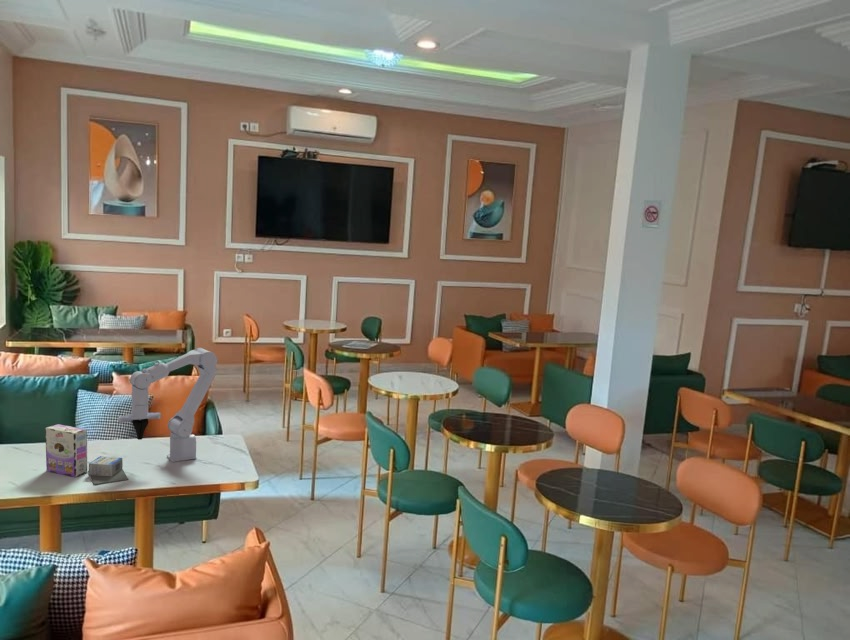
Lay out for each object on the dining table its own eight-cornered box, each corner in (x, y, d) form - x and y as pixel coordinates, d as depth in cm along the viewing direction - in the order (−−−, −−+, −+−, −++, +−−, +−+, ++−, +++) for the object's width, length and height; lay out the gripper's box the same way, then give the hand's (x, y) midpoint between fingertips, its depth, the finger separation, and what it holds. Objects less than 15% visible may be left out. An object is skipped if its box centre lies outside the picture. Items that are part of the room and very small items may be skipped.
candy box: (88, 472, 238) (87, 428, 236) (74, 478, 233) (74, 433, 230) (59, 466, 242) (58, 423, 240) (45, 471, 237) (44, 427, 235)
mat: (120, 467, 245) (120, 466, 245) (128, 479, 234) (128, 478, 234) (88, 471, 239) (88, 470, 239) (94, 485, 227) (94, 484, 227)
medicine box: (112, 465, 234) (88, 463, 234) (112, 476, 235) (88, 475, 235) (122, 457, 242) (99, 455, 242) (122, 469, 242) (99, 467, 242)
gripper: (158, 399, 252) (157, 433, 254) (116, 402, 244) (116, 438, 245) (162, 403, 246) (161, 438, 248) (120, 407, 238) (120, 443, 240)
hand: (139, 438), depth 246 cm, fingers closed
